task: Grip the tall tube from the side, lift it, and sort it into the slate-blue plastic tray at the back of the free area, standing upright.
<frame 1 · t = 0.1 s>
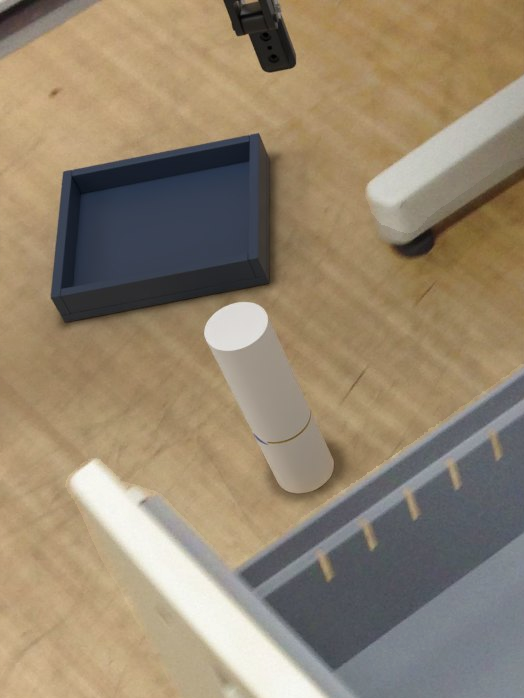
hand: (280, 24, 114), 27 cm above the table, tool pointing down, fingers open, 8 cm apart
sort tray: (169, 238, 145), on the table
tube: (306, 471, 130), on the table
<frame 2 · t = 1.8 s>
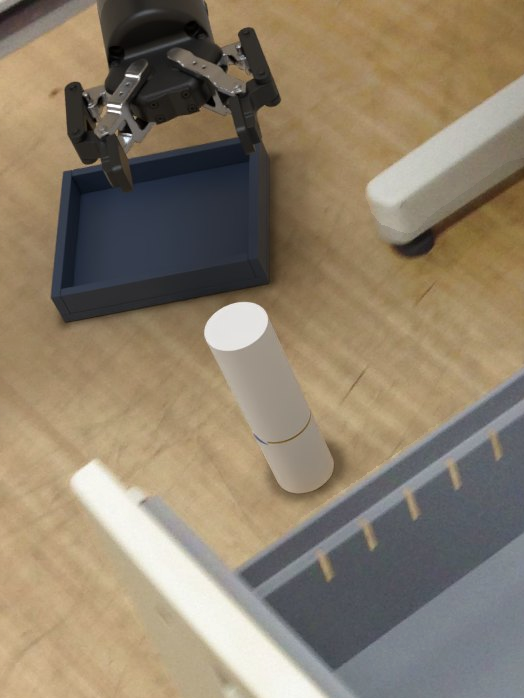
hand: (185, 163, 119), 20 cm above the table, tool horizontal, fingers open, 8 cm apart
nothing on the table moved.
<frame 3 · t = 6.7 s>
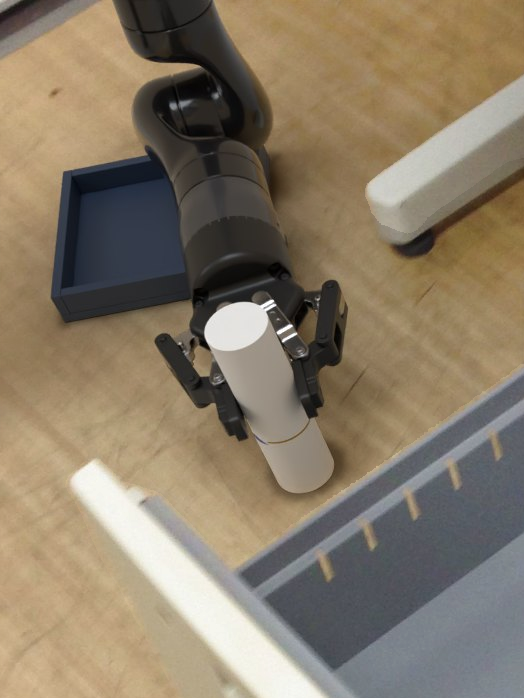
hand: (275, 420, 121), 8 cm above the table, tool horizontal, fingers closed on tube, 4 cm apart
tube: (306, 471, 130), on the table, touching gripper
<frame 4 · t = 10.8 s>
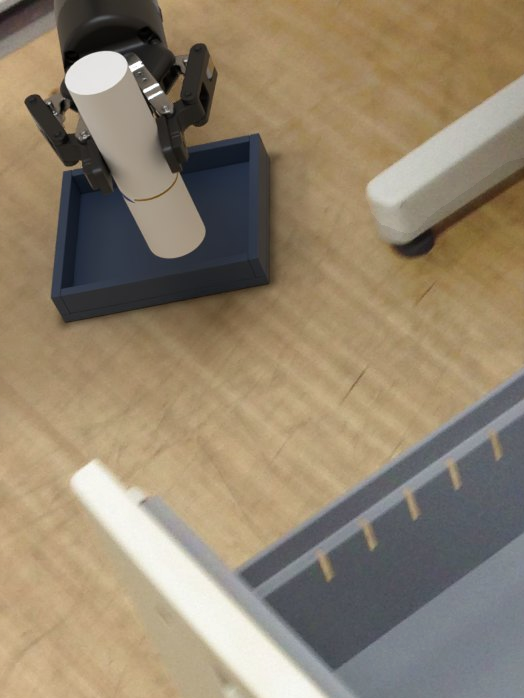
hand: (138, 172, 123), 18 cm above the table, tool horizontal, fingers closed on tube, 4 cm apart
tube: (178, 238, 132), point 9 cm above the table, touching gripper
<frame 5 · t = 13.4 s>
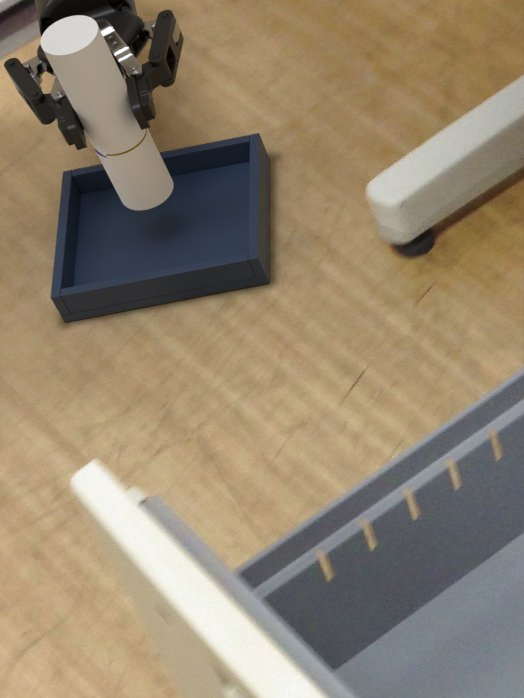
hand: (109, 129, 133), 13 cm above the table, tool horizontal, fingers closed on tube, 4 cm apart
tube: (148, 192, 141), point 5 cm above the table, touching gripper
when the fingers open (9 cm above the table, at t = 15.0 s): tube stays where it is, resting on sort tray.
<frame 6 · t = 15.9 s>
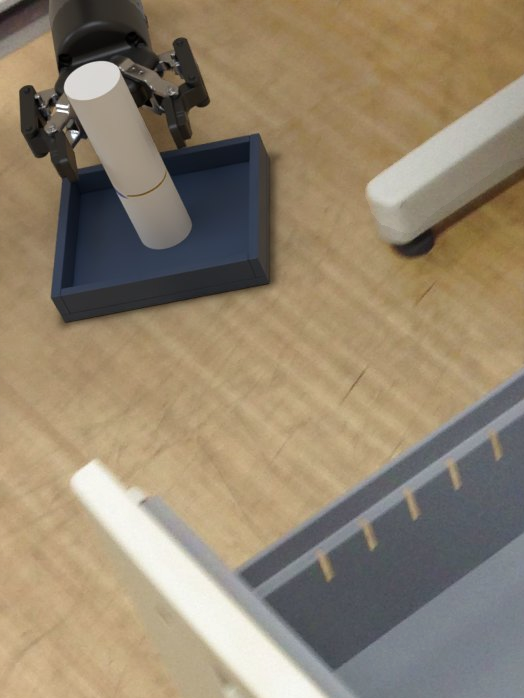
hand: (124, 156, 136), 10 cm above the table, tool horizontal, fingers open, 8 cm apart
tube: (167, 232, 145), point 1 cm above the table, touching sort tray
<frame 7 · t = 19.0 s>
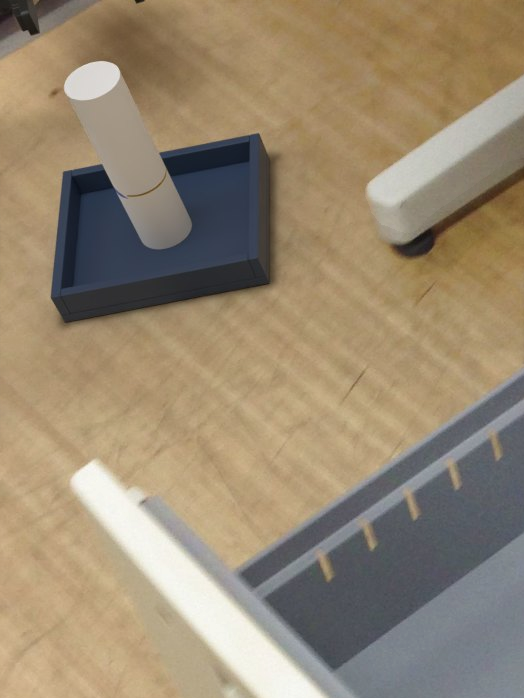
hand: (83, 9, 139), 15 cm above the table, tool horizontal, fingers open, 8 cm apart
nothing on the table moved.
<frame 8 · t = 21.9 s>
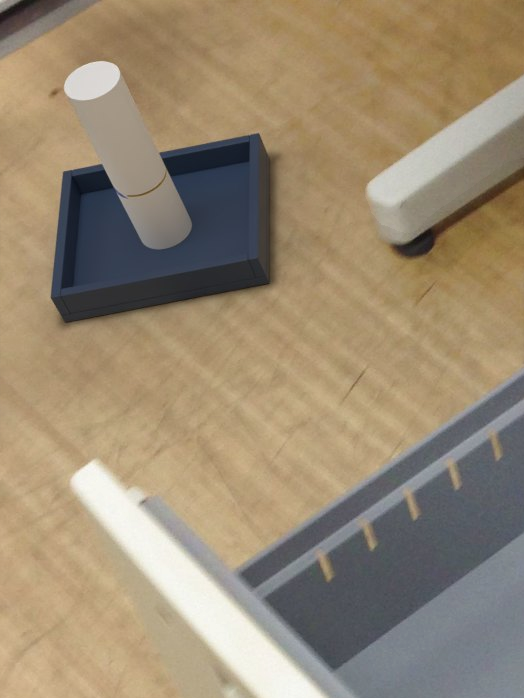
nothing on the table moved.
at the end: tube inside the target area in the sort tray (0.1 cm from its centre), point 0.6 cm above the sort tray's base; tube tilted 0°; the gripper is holding nothing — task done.
